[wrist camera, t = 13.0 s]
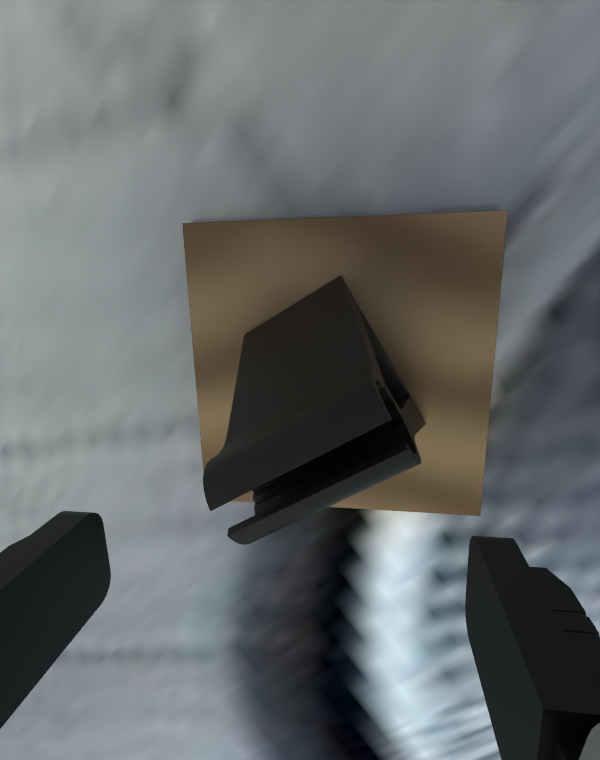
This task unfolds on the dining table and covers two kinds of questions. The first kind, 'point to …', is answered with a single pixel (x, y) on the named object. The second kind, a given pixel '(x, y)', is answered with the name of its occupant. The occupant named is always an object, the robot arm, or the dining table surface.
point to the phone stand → (311, 415)
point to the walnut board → (384, 314)
